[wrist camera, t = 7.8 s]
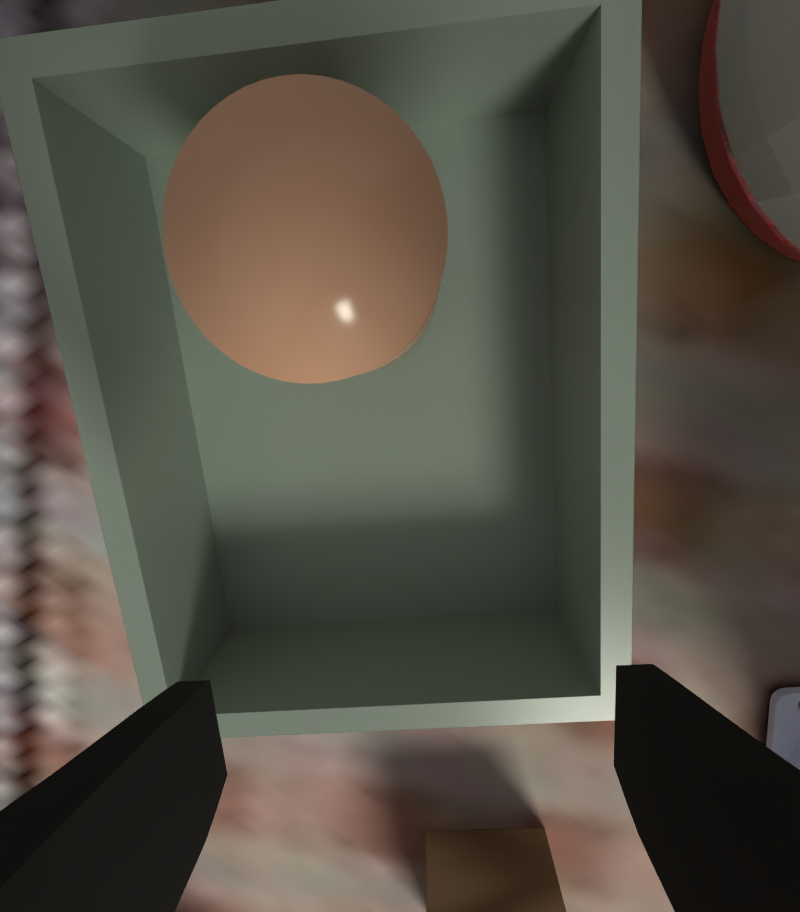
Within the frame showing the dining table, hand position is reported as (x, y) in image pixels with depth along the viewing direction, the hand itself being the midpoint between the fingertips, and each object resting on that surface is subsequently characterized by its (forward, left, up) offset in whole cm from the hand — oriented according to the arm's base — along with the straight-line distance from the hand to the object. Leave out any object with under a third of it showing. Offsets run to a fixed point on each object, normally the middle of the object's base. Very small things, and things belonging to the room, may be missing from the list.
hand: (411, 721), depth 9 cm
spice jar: (+1, -8, -9) cm, 12 cm away
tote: (+1, -5, -9) cm, 10 cm away
